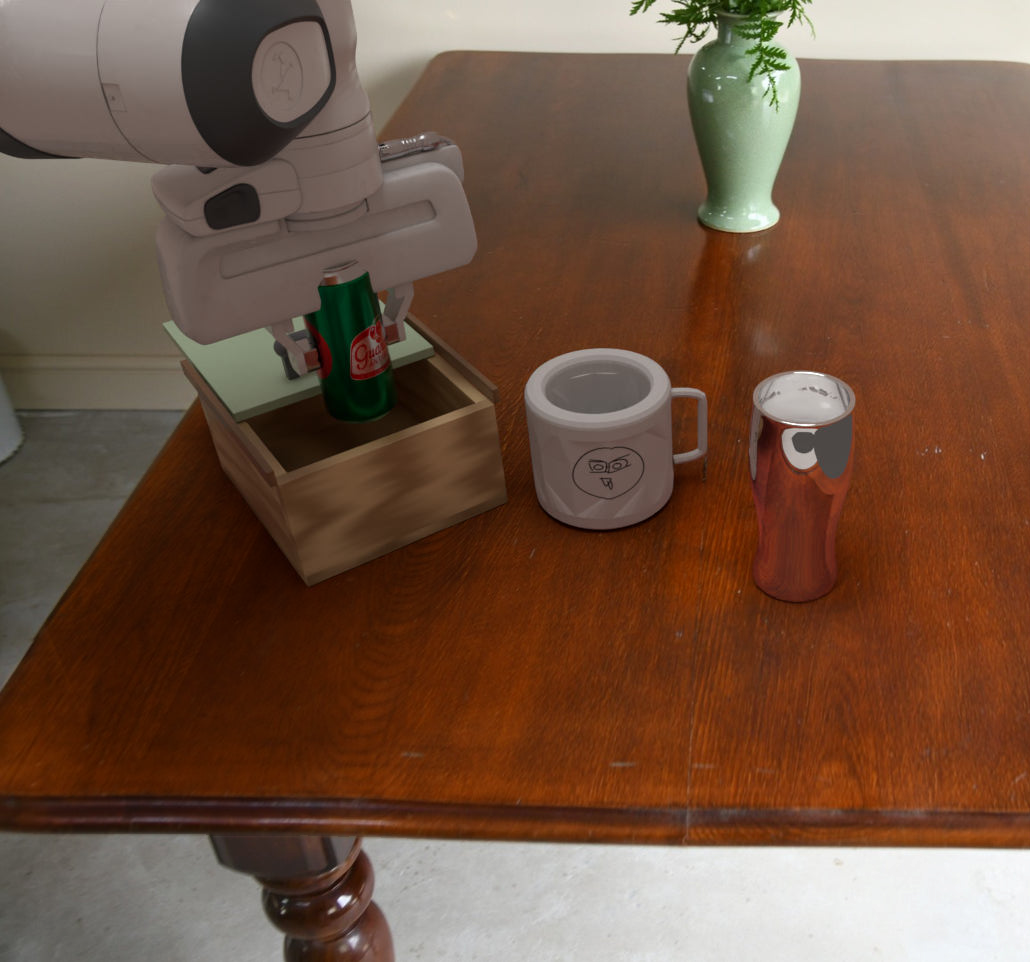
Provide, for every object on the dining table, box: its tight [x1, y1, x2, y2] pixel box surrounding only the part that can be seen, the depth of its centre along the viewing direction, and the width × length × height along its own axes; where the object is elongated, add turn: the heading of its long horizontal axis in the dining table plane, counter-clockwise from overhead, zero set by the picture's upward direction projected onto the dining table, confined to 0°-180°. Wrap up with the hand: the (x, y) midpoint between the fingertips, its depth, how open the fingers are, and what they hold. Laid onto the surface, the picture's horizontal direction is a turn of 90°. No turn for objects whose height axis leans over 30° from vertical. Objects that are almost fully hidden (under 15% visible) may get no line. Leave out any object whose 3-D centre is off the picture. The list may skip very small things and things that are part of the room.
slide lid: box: [161, 299, 435, 422], centre depth 88 cm, size 15×17×4 cm
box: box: [179, 297, 509, 588], centre depth 86 cm, size 17×18×10 cm
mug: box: [523, 347, 708, 531], centre depth 86 cm, size 14×11×10 cm
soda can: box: [302, 260, 398, 424], centre depth 77 cm, size 5×5×12 cm
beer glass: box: [748, 370, 857, 603], centre depth 76 cm, size 7×7×15 cm
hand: (349, 354), depth 78 cm, fingers closed on soda can, 5 cm apart
